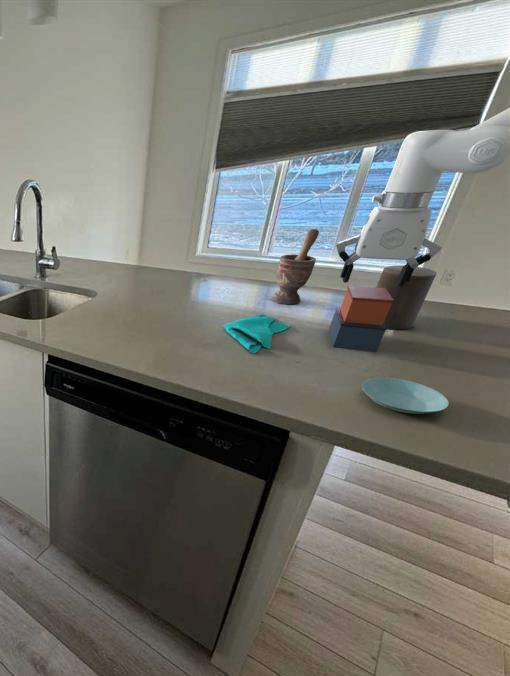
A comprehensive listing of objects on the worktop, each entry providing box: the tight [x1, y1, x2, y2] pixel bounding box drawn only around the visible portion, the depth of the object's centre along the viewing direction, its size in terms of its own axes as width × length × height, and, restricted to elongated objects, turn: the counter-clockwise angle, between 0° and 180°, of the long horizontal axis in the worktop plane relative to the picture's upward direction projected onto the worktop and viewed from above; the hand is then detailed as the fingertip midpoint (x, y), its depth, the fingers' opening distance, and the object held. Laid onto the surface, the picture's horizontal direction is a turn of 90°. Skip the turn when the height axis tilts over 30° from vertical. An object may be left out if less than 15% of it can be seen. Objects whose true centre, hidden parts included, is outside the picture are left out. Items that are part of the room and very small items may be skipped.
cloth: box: [223, 313, 291, 355], centre depth 106 cm, size 26×14×2 cm, turn 132°
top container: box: [339, 285, 394, 326], centre depth 94 cm, size 7×9×6 cm
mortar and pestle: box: [271, 228, 320, 305], centre depth 120 cm, size 12×9×20 cm
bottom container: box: [328, 307, 388, 353], centre depth 97 cm, size 8×11×6 cm
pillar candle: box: [376, 264, 438, 331], centre depth 101 cm, size 10×10×15 cm
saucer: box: [361, 377, 450, 415], centre depth 75 cm, size 12×12×2 cm
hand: (371, 282), depth 91 cm, fingers open, 9 cm apart
